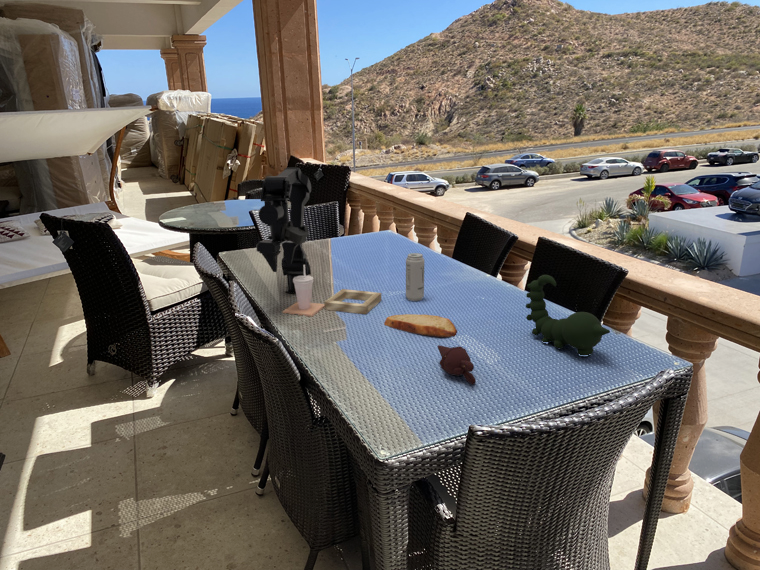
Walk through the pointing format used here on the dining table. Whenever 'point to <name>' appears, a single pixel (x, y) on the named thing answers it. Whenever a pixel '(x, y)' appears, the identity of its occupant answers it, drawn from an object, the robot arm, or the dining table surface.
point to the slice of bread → (422, 324)
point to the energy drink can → (415, 277)
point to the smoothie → (303, 290)
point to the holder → (338, 305)
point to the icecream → (456, 362)
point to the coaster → (308, 312)
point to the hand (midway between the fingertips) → (282, 268)
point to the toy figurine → (563, 322)
